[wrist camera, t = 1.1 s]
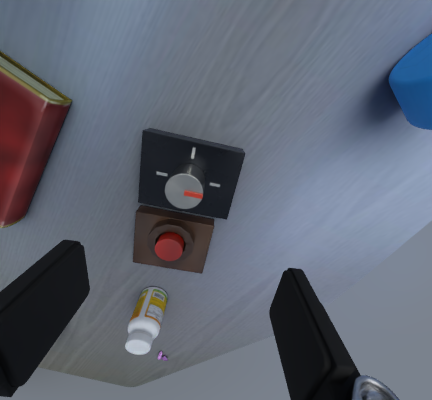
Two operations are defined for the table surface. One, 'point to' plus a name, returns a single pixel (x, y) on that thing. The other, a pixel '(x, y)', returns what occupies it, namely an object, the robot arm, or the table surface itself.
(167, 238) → the button
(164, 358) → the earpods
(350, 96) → the table surface
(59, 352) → the table surface
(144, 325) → the supplement bottle
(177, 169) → the timer knob
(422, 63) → the alarm clock
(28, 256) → the table surface
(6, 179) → the hardcover book
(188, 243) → the button block
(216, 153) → the control panel
